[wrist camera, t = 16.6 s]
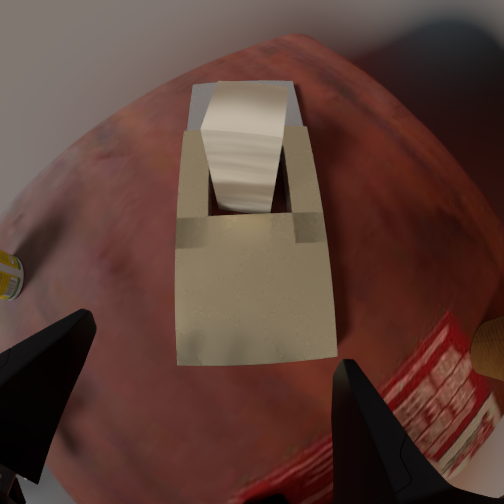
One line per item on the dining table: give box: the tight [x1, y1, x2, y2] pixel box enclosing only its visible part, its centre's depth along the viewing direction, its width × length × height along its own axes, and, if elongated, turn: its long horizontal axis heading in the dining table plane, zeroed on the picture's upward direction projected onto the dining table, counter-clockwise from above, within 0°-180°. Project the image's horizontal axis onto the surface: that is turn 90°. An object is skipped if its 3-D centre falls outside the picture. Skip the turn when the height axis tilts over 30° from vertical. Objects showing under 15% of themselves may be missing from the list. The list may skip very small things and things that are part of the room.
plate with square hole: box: [175, 81, 337, 366], centre depth 24 cm, size 30×12×2 cm, turn 3°
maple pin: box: [200, 81, 288, 214], centre depth 20 cm, size 5×5×11 cm
